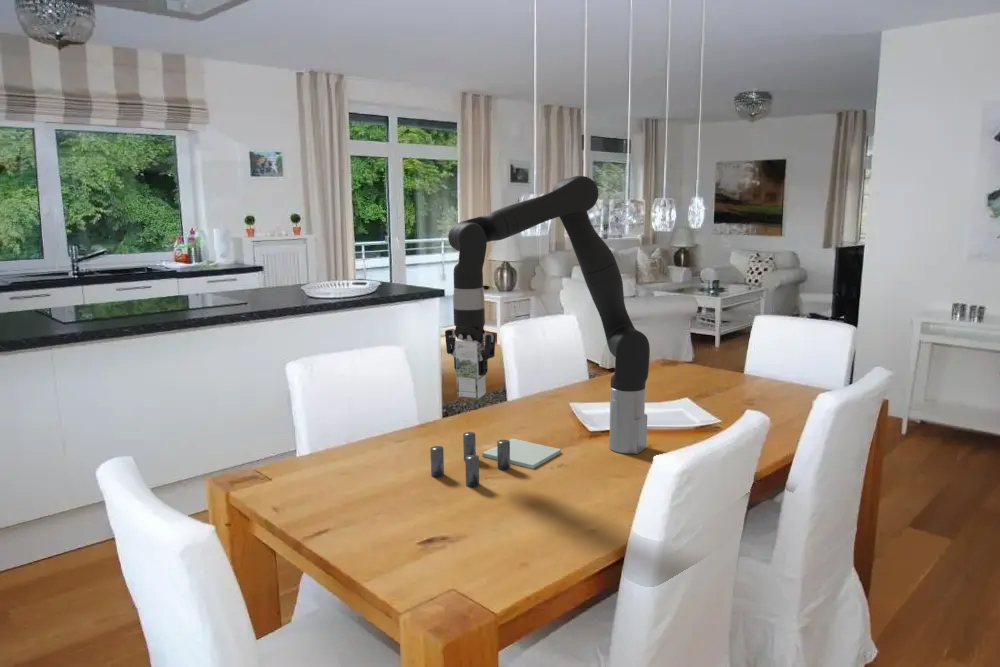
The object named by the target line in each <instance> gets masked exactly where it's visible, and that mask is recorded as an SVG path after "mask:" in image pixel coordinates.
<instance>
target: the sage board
mask: <svg viewBox="0 0 1000 667" xmlns="http://www.w3.org/2000/svg"><path fill="white" fill-rule="evenodd" d="M508 440H509V441H510V465H516V466H519V467H524V468H527V469H531V470H533V469H536V468H537V467H538V466H541V465H543V464H544V463H546V462H548V461H549V460H551V459H553V458H554V457H556V456H558V455H560V454H561V453H562V449H561V448H557V447H552V446H548V445H543V444H539V443H535V442H531V441H526V440H521V439H517V438H510V439H508ZM481 454H482V455H481V456H482V457H483V458H487V459H490V460H491V459H492V460H495V461H497V445H496V446H493V447H491V448H489V449H488V450H485V451H483V452H482V453H481Z"/></svg>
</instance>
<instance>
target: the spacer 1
mask: <svg viewBox="0 0 1000 667" xmlns="http://www.w3.org/2000/svg"><path fill="white" fill-rule="evenodd" d="M429 453H430V475H431V477H433V478H442V477H444V475H445V461H444V460H445V459H444V458H445V457H444V454H445V453H444V447H443V446H440V445H434V446H433V445H432V446H431V447H430V452H429Z"/></svg>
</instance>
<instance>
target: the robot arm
mask: <svg viewBox="0 0 1000 667" xmlns="http://www.w3.org/2000/svg"><path fill="white" fill-rule="evenodd" d="M598 200H599V189H598V185H597V183H596V182H595V181H594V180H593V179H591V177H587V176H585V175H576V176H572V177H568V178H565V179H562V180H559V181H558V182H556V184H554V186H553V189H552V191H550V192H548V193H546V194H545V193H544V194H542V195H540V196H537V197H533V198H530V199H526V200H522V201H519V202H516V203H512V204H510V205H508V206H504V207H502V208H499V209H497V210H494V211H492V212H490V213H488V214H485V215H481V216H476V217H473V218H468V219H466V220H463V221H459V222H458V223H455V224H454V225H453V226H452V227H451V228H450V230H449V231H448V235H447V239H448V242H449V243H448V244H449V245H450V246H451V248H452V249H454V250H455V251H457V252H459V253H458V262H457V264H455V265H454V267H453V295H452V296H453V298H452V301H453V303H452V304H453V306H452V307H453V325H454V326H455V328H449V329H446V330H445V331H444V336H445V337H444V338H445V346H446V353H447V354H448V355H451V356H452V357H453V361H454V362H453V365H454V366H453V367H454V370H456V350H455V341H456V340H457V339H461V340H462V339H468V341H478V342H480V344H481V345H482V346H481V347H480V348H478V349H477V351H478V359H479V360H480V361H478V365H479V375H480V376H483V375H485V376H486V375H487V373H488V371H489V369H488V366H489V365H488V360H490V359H493V358H494V357H495V354H496V352H495V351H496V348H495V347H496V334H495V333H486V332H485V328H484V326H485V323H486V314H485V312H486V311H485V306H486V305H485V291H484V277H483V276H484V272H483V270H484V269H483V268H484V264H485V260H486V254H487V253H486V252H487V246H488V243H489V242H494V241H495V242H496V241H501V240H505V239H507V238H509V237H512V236H515V235H518V234H520V233H521V232H525V231H527V230H529V229H531V228H534V227H536V226H538V225H540V224H543V223H545V222H547V221H550V220H553V219H556V218H559V219H560V221H561V223H562V225H563V227H564V228H565V231H566V233H567V235H568V237H569V240H570V242H571V245H572V248H573V251H574V254H575V257H576V259H577V261H578V264H579V267H580V271H581V274H582V276H583V279H584V282H585V285H586V287H587V289H588V291H589V294H590V297H591V299H592V301H593V303H594V305H595V308H596V309H597V312H598V315H599V317H600V319H601V320H600V321H601V324H602V327H603V331H604V335H605V338H606V339H605V340H606V343H607V347H608V350H609V352H610V353H611V354H612V356H613V357H614V360H615V361H614V362H615V363H614V372H613V373H614V374H613V375H611V377H610V387H609V388H610V392H609V393H610V396H609V397H610V399H609V440H608V441H609V447H608V448H609V449H610V450H612V451H613V452H616V453H620V454H636V455H638V454H640V453H642V452H643V451H644V450H645V449H647V444H648V443H647V442H648V440H647V438H648V435H647V434H648V414H646V413H645V408H646V406H645V405H646V404H645V403H646V383H647V380H648V378H649V371H650V370H649V369H650V351H651V350H650V342H649V339H648V338H647V335H645V334H644V333H643V332H641V331H639V330H637V329H636V328H635V326H634V324H633V322H632V320H631V318H630V316H629V313H628V311H627V308H626V304H625V295H624V294H625V293H624V284H623V278H622V275H621V271H620V268H619V266H618V263H617V261H616V258H615V255H614V254H613V252H612V250H611V249H610V248H609V246H608V245H607V244H606V242H605V240H603V238H601V236H600V235H599V233H597V231H596V229H595V228H594V226H593V224H592V222H591V220H590V217H589V213H588V212H589V211H590V210H591V209H593V208H594V206H595V205H596V204H597V202H598ZM483 339H484V342H483Z"/></svg>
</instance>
